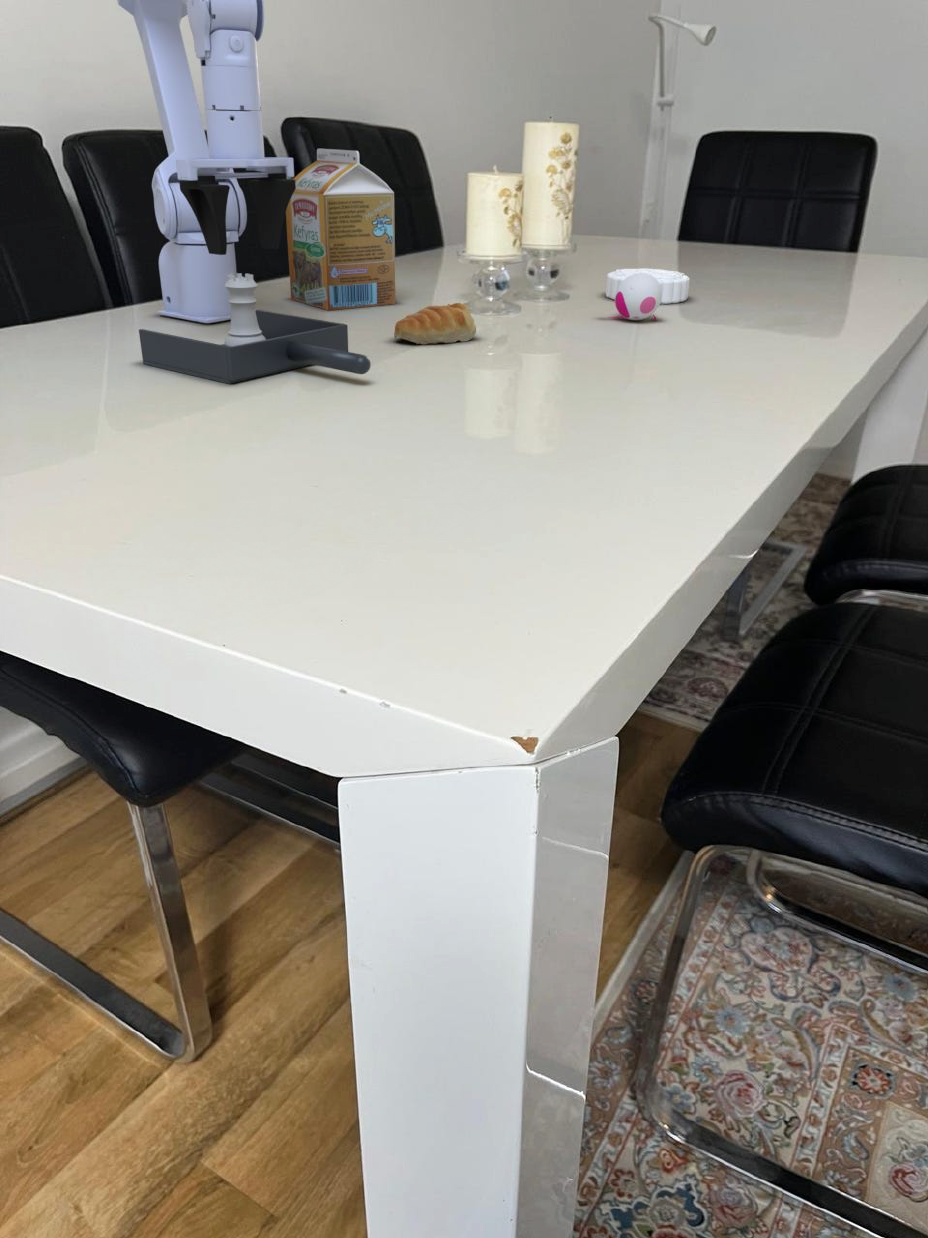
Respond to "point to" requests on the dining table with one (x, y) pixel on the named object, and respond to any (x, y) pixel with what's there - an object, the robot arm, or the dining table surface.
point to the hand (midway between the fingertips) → (244, 251)
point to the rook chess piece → (242, 311)
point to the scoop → (257, 350)
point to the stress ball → (638, 297)
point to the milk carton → (341, 234)
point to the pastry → (437, 325)
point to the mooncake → (670, 281)
